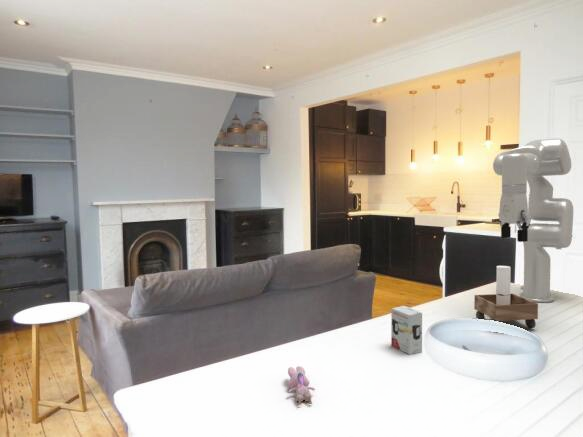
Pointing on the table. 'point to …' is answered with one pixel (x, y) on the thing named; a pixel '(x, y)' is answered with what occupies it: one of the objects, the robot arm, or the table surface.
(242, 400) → the table surface
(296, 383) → the rabbit figure
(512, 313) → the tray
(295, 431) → the table surface
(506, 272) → the tube
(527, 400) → the table surface
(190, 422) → the table surface
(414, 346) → the ink box
